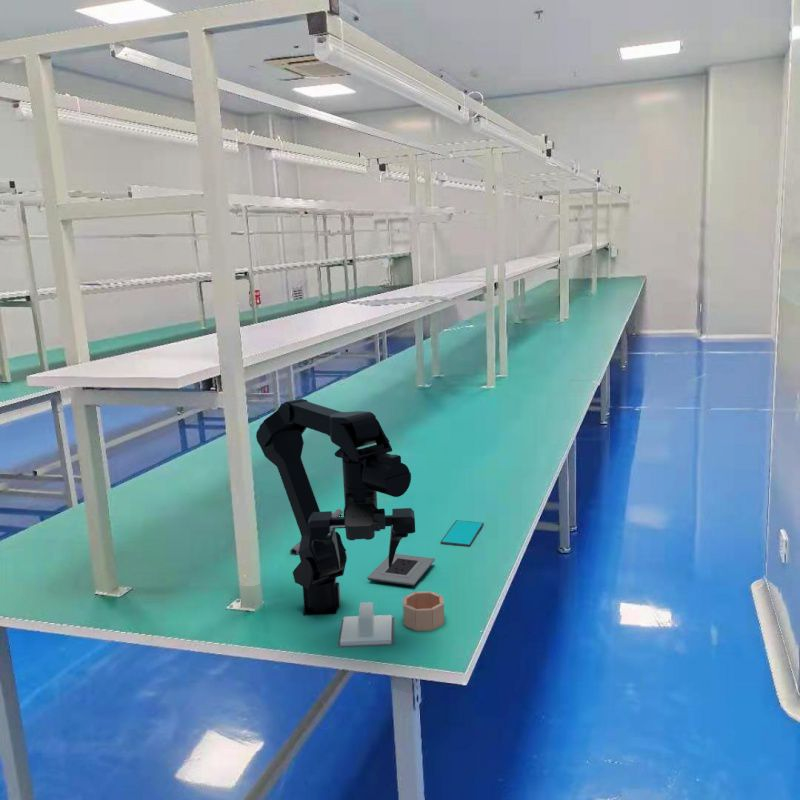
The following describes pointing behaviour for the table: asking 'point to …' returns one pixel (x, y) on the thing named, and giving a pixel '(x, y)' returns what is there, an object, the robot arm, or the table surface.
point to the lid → (366, 628)
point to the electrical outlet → (401, 570)
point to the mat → (368, 645)
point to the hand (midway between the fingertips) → (364, 567)
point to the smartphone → (462, 533)
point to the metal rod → (296, 547)
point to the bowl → (423, 611)
